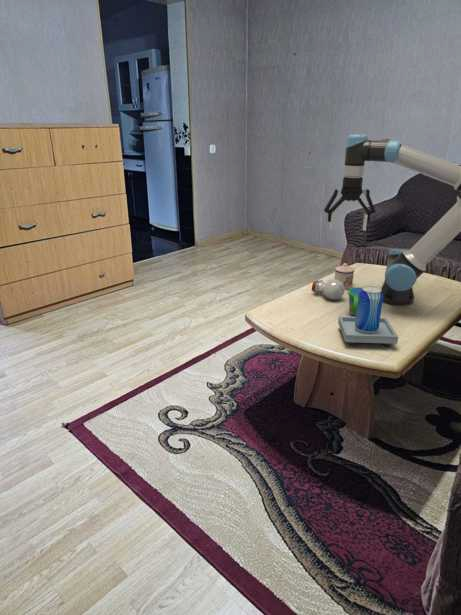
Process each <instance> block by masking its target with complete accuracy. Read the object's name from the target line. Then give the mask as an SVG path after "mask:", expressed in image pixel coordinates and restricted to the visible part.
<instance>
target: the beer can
mask: <svg viewBox="0 0 461 615" xmlns="http://www.w3.org/2000/svg"><path fill="white" fill-rule="evenodd" d="M361 288H362V290H361V291H360V292H359V296H358V304H357V312H356V320H355V327H356V328H357V330H358V331H359V332H361V333H365V334H372V333H375V332H376V331H377V330H378V329H379V323H380V318H381V317H382V316H381V315H382V308H383V303H384V302H383V294H382V292H381V291H382V290H381V287H378V286H374V285H365V286H363V287H361Z"/></svg>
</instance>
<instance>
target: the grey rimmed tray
mask: <svg viewBox="0 0 461 615" xmlns="http://www.w3.org/2000/svg"><path fill="white" fill-rule="evenodd" d="M355 320H356V317H355V316H345V315H344V316H341V315H340V316H339V315H338V319H337V324H338V326H339V330H340V331H341V334H342V337H343V340H344V343H347V345H348V346H349V347H353V346H354V345H355V343H362V344H363V343H365V344H366V343H367V344H383V345H384V346H385V348H390V347H391V346H392V345H393V344H396V345H397V344H398V340H399V335H398V333H397V332H396V331H395V328H394V327H393V326H392V325H391V323H390V321H389V319H388V318H387V317H380V323H379V329H378V330H377V331H376V332H375V333H372V334H365V333H361V332H359V331H358V330H357V328H356V327H355Z"/></svg>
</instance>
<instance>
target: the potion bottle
mask: <svg viewBox="0 0 461 615" xmlns="http://www.w3.org/2000/svg"><path fill="white" fill-rule="evenodd" d="M311 291H312V293H315V294H318V295H320V294H322V293H323V294H324V296H325V298H327V299H328V300H330V301H337V300H340V299H341V298H342V297H343V296H344V295H345V291H346V290H345V287H344V285H343V283H342V282H341V281H339V280H337V279H329V280H327V281H326V282H324V281H323V279H320V280H319V279H317V280H315V281H313V282H312V285H311Z"/></svg>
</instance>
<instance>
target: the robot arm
mask: <svg viewBox="0 0 461 615" xmlns="http://www.w3.org/2000/svg"><path fill="white" fill-rule="evenodd" d="M365 162H385V163H392V164H395V165H398V166H399V167H403V168H405V169H408V170H410V171H413V172H415V173H419V174H421V175H424V176H426V177H429V178H431V179H434V180H436V181H439V182H442V183H444V184H446V185H449V186H452V187H453V188H454V190H455V191H458V192H460V193H459V194H458V195H457V196H456V202H455V204H454V205H453V206H452V207H451V208H450V209H449V210H447V212H446V213H445V214H444V215H443V216H442V217H441V218H440V219H438V221H437V222H436V223H435V224H434V225H432V227H430V229H429V230H428V231H427V232H426V233H425V234H424V235H423V236H422V237H421V238H420V239H419V240H417V242H416V243H415V244H414V245H413V246H411V248H410V249H407V248H406V249H405V248H392V249H389V251H388V254H387V262H386V268H385V272H384V281H383V283H382V286H381V287H380V289H381V290H382V291H381V292H382V294H383V303H385V304H388V305H393V306H410V305H412V304H413V303H414V300H415V294H414V288H413V287H414V286H415V284H416V282H417V280H418V278H420V277H421V275H422V274H424V273H425V272H426V270H427V264H428V263H429V262H431V260H432V259H434V258H435V257H436V256H437V255H438V254H439V253H440V252H441V251H442V250H443V249H444V248H445V247H446V246H447V245H448V244H449V243H451V242H452V240H454V239H455V238H456V237H457V235H459V234H460V233H461V165H459V164H456V163H454V162H451V161H448V160H446V159H443V158H441V157H437V156H436V155H435V156H434V155H432V154H429V153H428V152H427V153H426V152H423V151H421V150H418V149H416V148H413V147H410V146H407V145H404V144H401V142H400V141H399V140H393V139H389V138H382V139H381V140H370V139H369V137H368V135H367V134H349V135H348V137H347V140H346V147H345V158H344V168H343V177H342V178H343V179H342V186H341V189H337V188H334V189H333V193H332V195H331V196H330V198H329V200H328V202H327V204H326V206H325V207H324V208H323V211H324V213H325V214H327V221H328V223H329V227H328V228H329V230H330V231H333V227H334V226H333V225H334V215H335V214H334V212H335V211H336V210H337V208H339V207H340V205H342V204H343V202H345V201H347V202H351V201H352V202H355V201H357V202H358V203H359V204H360V206H361V207H362V209H363V210H364V211H365V213H364V215H363V223H362V230H363V231H364V232H367V225H368V223H370V220H371V215H372V214H376V211H377V210H376V209H375V206H374V204H373V200H372V199H371V196H370V193H371V192H370V189H368V188H366V189H363V181H364V180H363V176H364V172H365V171H364V170H365ZM339 194H341V197H339V199H338V200H337V201H336V202H335V203H334V201H335V199H337V196H339ZM361 195H364V196H365V198H366V201H367V204H368V207H369V208H368V207H367V206H366V204H365V202H364V201H363V200H362V198H361ZM333 203H334V204H333Z"/></svg>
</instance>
